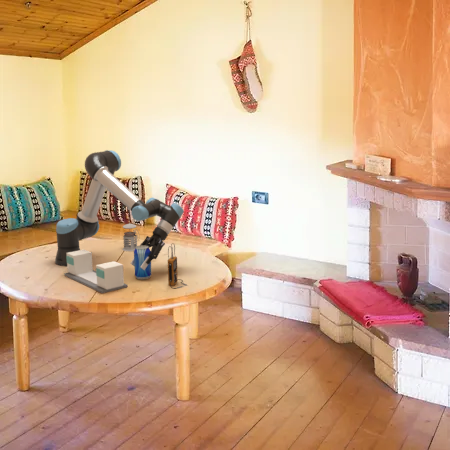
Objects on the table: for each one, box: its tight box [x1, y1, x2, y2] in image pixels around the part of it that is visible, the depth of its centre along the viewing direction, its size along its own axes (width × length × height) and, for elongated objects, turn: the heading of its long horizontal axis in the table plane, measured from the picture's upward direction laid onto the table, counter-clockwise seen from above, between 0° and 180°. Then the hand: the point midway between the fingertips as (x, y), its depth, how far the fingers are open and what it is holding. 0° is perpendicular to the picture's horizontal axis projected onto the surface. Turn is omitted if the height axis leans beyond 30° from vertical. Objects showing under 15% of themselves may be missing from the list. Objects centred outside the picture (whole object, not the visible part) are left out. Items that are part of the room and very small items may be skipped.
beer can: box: [133, 244, 152, 280], centre depth 327 cm, size 8×8×16 cm
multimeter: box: [167, 243, 189, 289], centre depth 316 cm, size 15×10×20 cm
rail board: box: [63, 249, 128, 294], centre depth 322 cm, size 38×14×12 cm, turn 41°
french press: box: [121, 207, 140, 252], centre depth 380 cm, size 10×12×25 cm
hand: (137, 266), depth 326 cm, fingers closed on beer can, 8 cm apart
